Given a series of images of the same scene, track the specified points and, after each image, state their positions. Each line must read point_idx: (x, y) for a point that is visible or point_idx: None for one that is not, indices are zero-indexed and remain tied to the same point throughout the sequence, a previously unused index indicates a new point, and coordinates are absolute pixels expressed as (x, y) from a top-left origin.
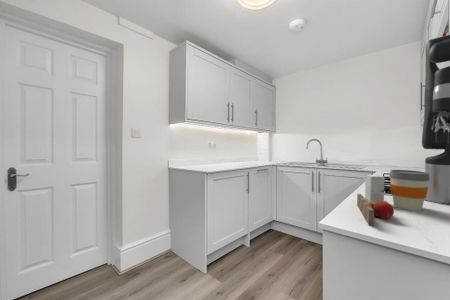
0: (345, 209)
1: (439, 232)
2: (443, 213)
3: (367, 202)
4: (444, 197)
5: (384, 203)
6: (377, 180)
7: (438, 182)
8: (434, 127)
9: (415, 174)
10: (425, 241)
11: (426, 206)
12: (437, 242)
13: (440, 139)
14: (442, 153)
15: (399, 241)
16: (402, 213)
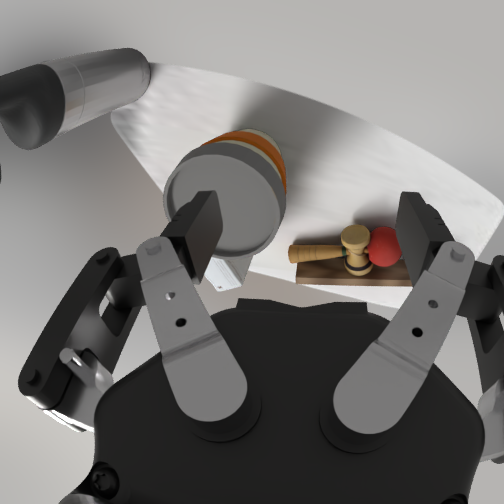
0: (346, 286)
1: (437, 166)
2: (271, 90)
3: (381, 279)
4: (139, 66)
5: (394, 258)
6: (234, 262)
7: (111, 88)
8: (133, 323)
9: (280, 207)
10: (477, 209)
11: (211, 110)
12: (477, 194)
13: (213, 222)
14: (13, 111)
15: (480, 243)
16: (328, 187)
